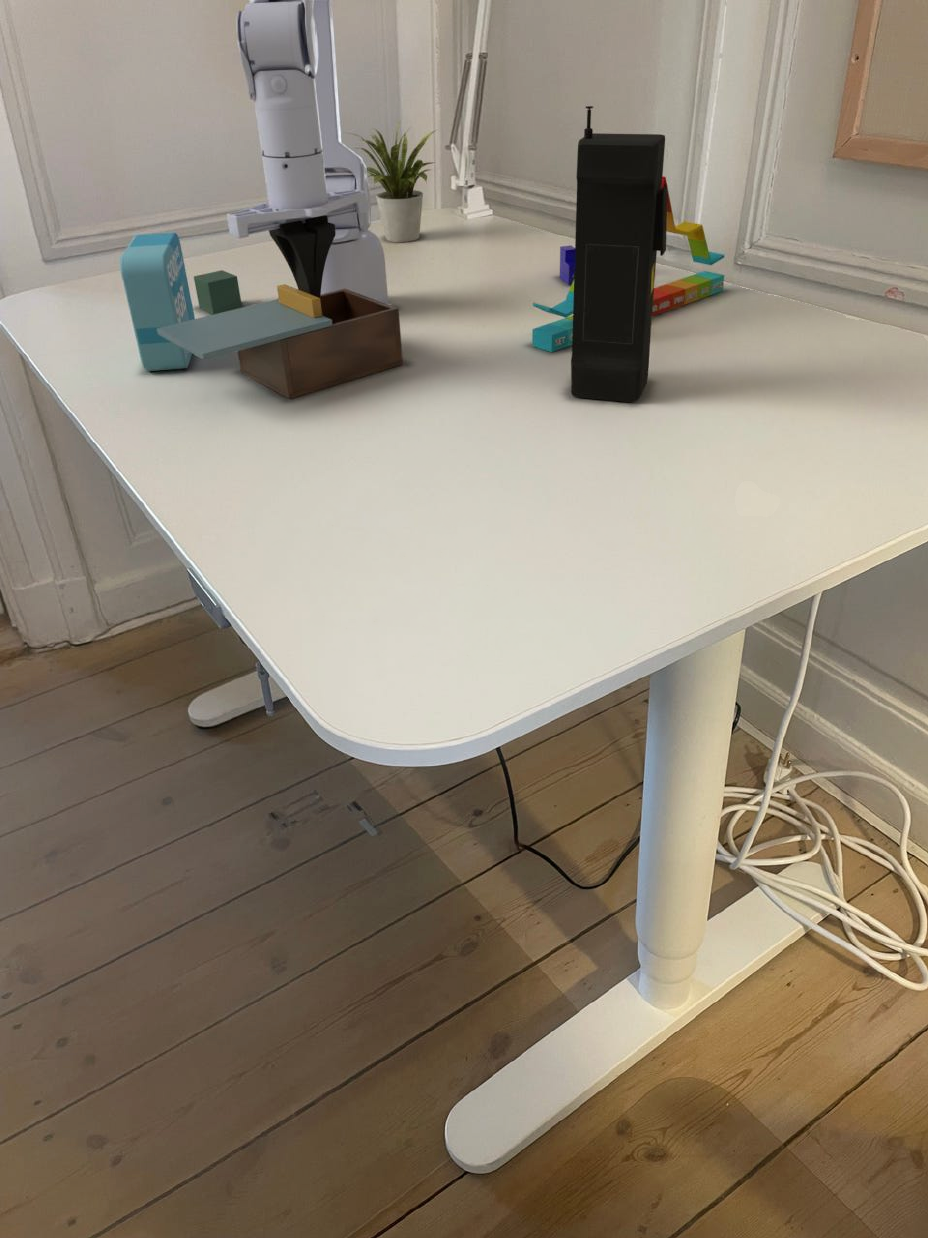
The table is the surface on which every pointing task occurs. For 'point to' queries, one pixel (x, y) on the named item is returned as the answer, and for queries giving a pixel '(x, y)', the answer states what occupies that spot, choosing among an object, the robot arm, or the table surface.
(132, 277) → the data package
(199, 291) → the block
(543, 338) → the chart
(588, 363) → the portable radio
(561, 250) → the cable holder
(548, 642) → the table surface
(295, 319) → the sliding box lid
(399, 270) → the table surface
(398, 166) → the house plant
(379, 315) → the case
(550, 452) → the table surface
